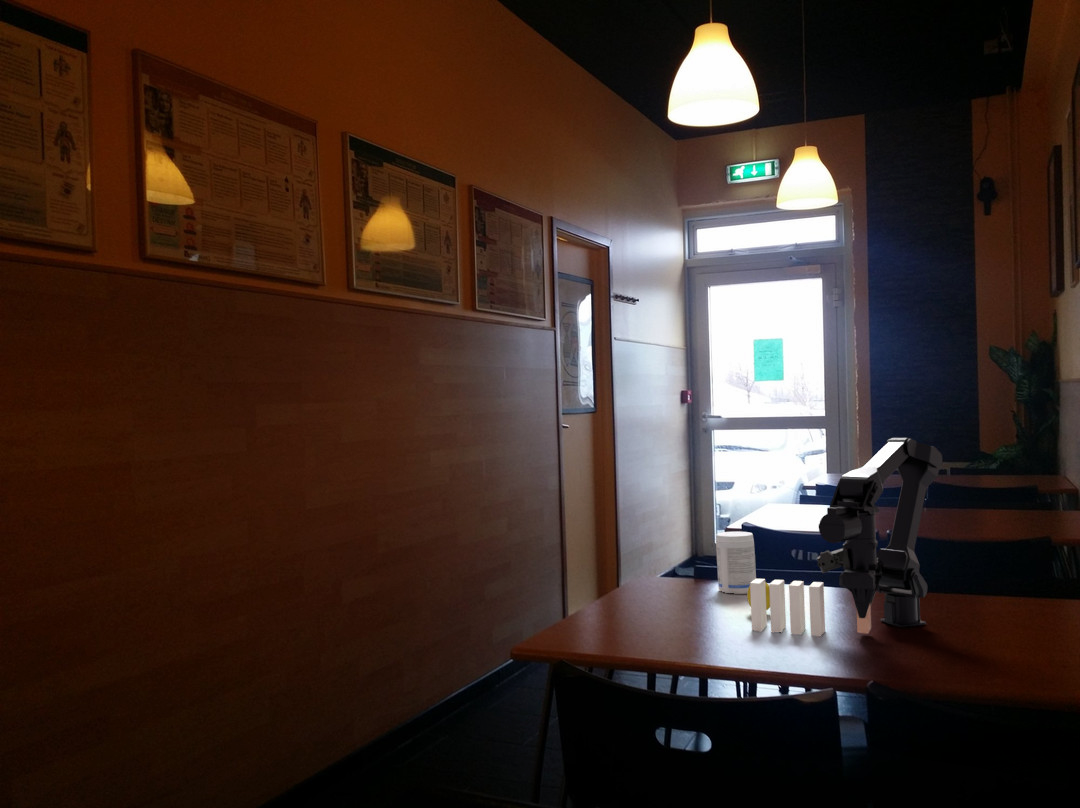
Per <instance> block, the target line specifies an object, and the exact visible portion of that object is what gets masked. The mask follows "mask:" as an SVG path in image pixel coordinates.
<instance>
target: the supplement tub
mask: <svg viewBox="0 0 1080 808" xmlns="http://www.w3.org/2000/svg"><path fill="white" fill-rule="evenodd" d="M754 539H755V538H754V535H753V533H752V532H748V531H723V532H718V533H716V535H715V549H716V565H717V566H716V567H717V581H718V582H717V584H718V585H717V586H718V590H719V591H720V592H721V591H722V592H721V593H723V592H725V593H724V594H727V593H734V594H733V595H747V593H748V588H749V586H750V583H751V582H752V581H753V580H755V579H757V572H756V554H755V550H756V549H755V541H754Z"/></svg>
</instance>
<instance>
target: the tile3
mask: <svg viewBox="0 0 1080 808" xmlns="http://www.w3.org/2000/svg"><path fill="white" fill-rule="evenodd" d="M804 581H805V580H803V581H802V580H793V581H792V582H790V584H788V592H789V593H788V595H789V597H788V598H789V599H788V600H789V622H790V623H789V624H790V634H791V633H794V634H793V635H797V634H801V633H802V632H803V633H804V631H805V630H806V612H805V608H806V607H805V585H804V583H805V582H804ZM801 635H802V634H801Z"/></svg>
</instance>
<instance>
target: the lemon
mask: <svg viewBox="0 0 1080 808" xmlns="http://www.w3.org/2000/svg"><path fill="white" fill-rule="evenodd" d="M765 587H766V611H768V610H770V589H769V583H767V582H766V581H765ZM746 595H747V601H748V602H747V603H748V604H749V607H750V608H751V594H750V586H749V588H748V593H747V594H746Z"/></svg>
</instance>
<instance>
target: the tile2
mask: <svg viewBox="0 0 1080 808" xmlns="http://www.w3.org/2000/svg"><path fill="white" fill-rule="evenodd" d="M824 588H825V587H824V582H822V581H813V582H812V583H811V584H810V585H808V595H809V621H810V624H809V625H810V636H811V635H816V636H815V637H820V636H821V635H822V634H824V633H825V632H826V614H825V589H824ZM824 631H825V632H824ZM822 636H823V635H822ZM822 636H821V637H822Z"/></svg>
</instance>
